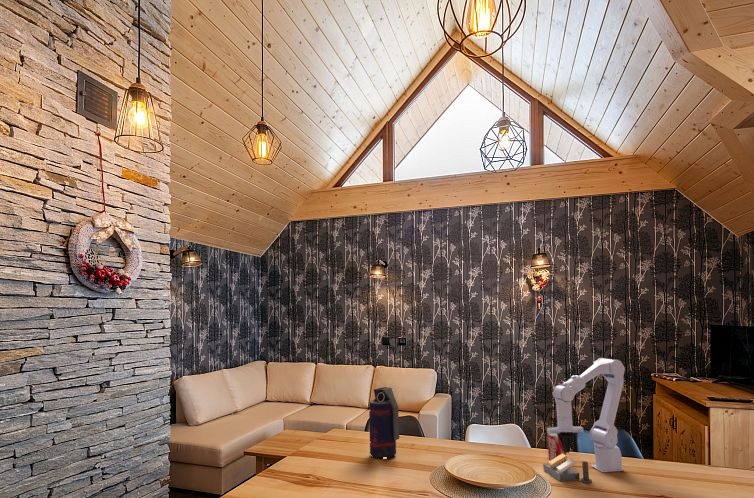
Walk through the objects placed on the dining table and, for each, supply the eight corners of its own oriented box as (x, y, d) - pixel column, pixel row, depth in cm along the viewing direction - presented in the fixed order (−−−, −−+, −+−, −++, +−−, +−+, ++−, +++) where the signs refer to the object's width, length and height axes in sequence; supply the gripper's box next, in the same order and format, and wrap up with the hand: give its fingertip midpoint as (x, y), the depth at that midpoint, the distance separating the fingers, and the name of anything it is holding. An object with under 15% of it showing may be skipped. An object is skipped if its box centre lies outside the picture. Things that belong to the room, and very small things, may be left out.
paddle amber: (563, 456, 197) (562, 453, 197) (568, 459, 193) (566, 455, 193) (549, 465, 195) (547, 461, 196) (553, 468, 192) (551, 464, 192)
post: (588, 479, 187) (586, 460, 187) (594, 483, 183) (592, 463, 184) (578, 480, 186) (577, 460, 187) (584, 483, 182) (583, 464, 183)
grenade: (364, 457, 219) (363, 388, 222) (379, 450, 229) (378, 385, 232) (390, 462, 211) (389, 391, 214) (404, 455, 221) (403, 387, 224)
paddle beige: (572, 461, 190) (570, 458, 190) (577, 464, 187) (575, 460, 187) (557, 470, 189) (555, 467, 189) (562, 473, 186) (560, 470, 186)
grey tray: (561, 468, 199) (561, 458, 199) (579, 479, 186) (578, 469, 187) (543, 470, 198) (542, 459, 198) (560, 481, 185) (559, 470, 185)
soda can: (568, 467, 201) (566, 436, 202) (550, 466, 202) (548, 436, 204) (565, 461, 208) (563, 432, 209) (547, 461, 209) (546, 432, 211)
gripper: (552, 419, 191) (554, 455, 189) (586, 417, 193) (589, 453, 191) (543, 415, 198) (545, 450, 196) (577, 414, 200) (579, 448, 198)
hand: (566, 451), depth 194 cm, fingers closed
